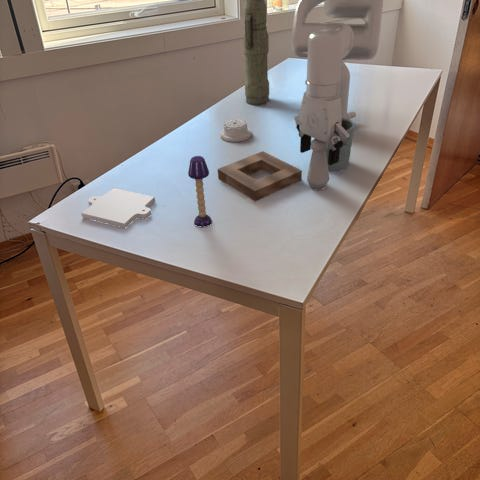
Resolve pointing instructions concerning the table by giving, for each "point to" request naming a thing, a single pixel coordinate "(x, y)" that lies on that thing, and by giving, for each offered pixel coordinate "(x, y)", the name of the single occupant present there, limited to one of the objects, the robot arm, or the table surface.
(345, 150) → the green embossed cup
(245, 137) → the mechanical component
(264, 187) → the holder board
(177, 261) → the table surface
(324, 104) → the robot arm
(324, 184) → the salt shaker
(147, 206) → the mounting plate
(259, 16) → the green textured column
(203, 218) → the toy lamp
